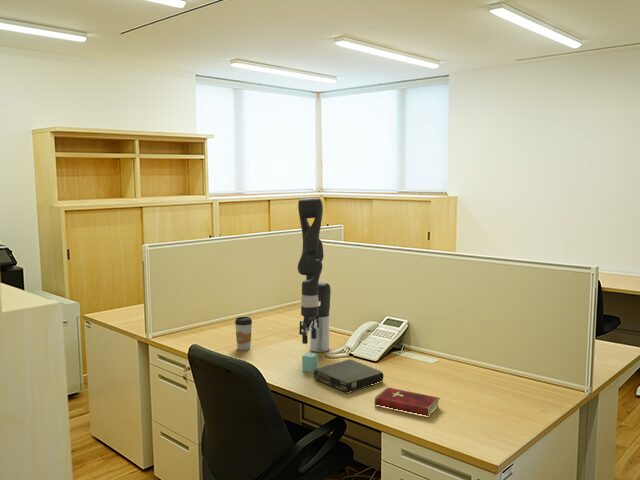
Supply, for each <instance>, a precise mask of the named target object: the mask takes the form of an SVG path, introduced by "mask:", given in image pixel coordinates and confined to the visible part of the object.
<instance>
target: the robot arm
mask: <svg viewBox="0 0 640 480" xmlns="http://www.w3.org/2000/svg"><path fill="white" fill-rule="evenodd" d="M297 204H298V205H297V208H298V217H299V222H300V227H301V235H302V237H301V238H302V250H301V251H302V252H301V256H300V257H299V261H298V263H297V271H298V273H299V274H300V275H301V276H305V280H304V281H302V282H301V297H300V298H301V299H300V315H301V316H302V317H303V320H299V329H298V330H299V331H298V332H299V335H301V337H302V339H301V341H302V342H301V343H302V344H304V345H307V344H308V342H309V349H310V351H311V352H316V353H324V352H325V353H326V352H328V351H329V350H330V309H331V308H330V307H331V285H330V284H329V283H327V282H319V281H320V277H321V274H322V271H323V260H324V244H323V242H322V241H321V239H320V232H321V228H322V227H321V226H322V222H323V221H322V220H323V211H324V209H323V208H324V206H323V201H322V199H321V198H320V197H309V198H306V197H305V198H299V200H298V203H297ZM309 219H314V220H313V222H312V223H311V225H310V223H309ZM319 303H320V305H319ZM308 334H309V338H308ZM308 339H309V341H308Z"/></svg>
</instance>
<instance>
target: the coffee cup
mask: <svg viewBox="0 0 640 480" xmlns="http://www.w3.org/2000/svg"><path fill="white" fill-rule="evenodd" d="M234 325H235V337H236V346H237V350H238V351H239V350H240V351H248V350H250V348H251V346H252V345H251V344H252V343H251V342H252V325H253V320H252V318H251V317H249V316H239V317H236V318H235V321H234Z"/></svg>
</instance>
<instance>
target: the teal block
mask: <svg viewBox="0 0 640 480" xmlns="http://www.w3.org/2000/svg"><path fill="white" fill-rule="evenodd" d="M318 355H319V354H318V353H313V352H308V351H307V352H306V353H304V354H303V355H301V356H302V358H301V359H302V361H301V366H302V368H301V371H302V372H305V371H308V372H307V373H311V372H313V373H314V370H315V369H317V368H319V367H318V366H319V365H318V364H319V361H318V360H319V358H318V357H319V356H318Z"/></svg>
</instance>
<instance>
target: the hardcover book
mask: <svg viewBox="0 0 640 480" xmlns="http://www.w3.org/2000/svg"><path fill="white" fill-rule="evenodd" d="M440 399H441V397H438V396H432V395H428V394H422V393H419V392H414V391H410V390H405V389H399V388H393V387H389V386H387V387H386V388H385V389H383V390H382V391H381V392H379V393H378V394H377V395H376V396H375V397H374V406H375V405H380V406H385V407H389V408H393V409H398V410H403V411H407V412H412V413H417V414H422V415H426V416H429V414H430V413H431V412H432V411H433V410H434V409H435V408H436V407H437V406H438V407H439V401H440ZM429 417H430V416H429Z"/></svg>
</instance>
